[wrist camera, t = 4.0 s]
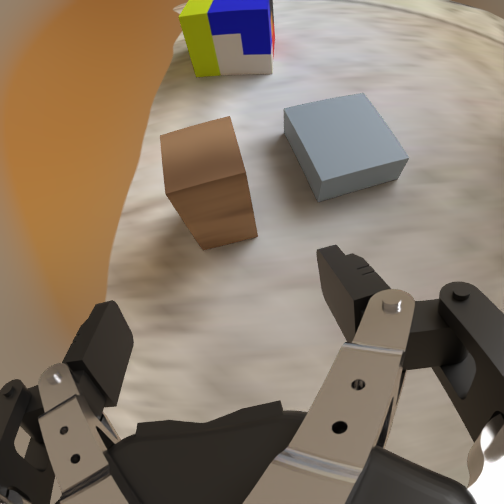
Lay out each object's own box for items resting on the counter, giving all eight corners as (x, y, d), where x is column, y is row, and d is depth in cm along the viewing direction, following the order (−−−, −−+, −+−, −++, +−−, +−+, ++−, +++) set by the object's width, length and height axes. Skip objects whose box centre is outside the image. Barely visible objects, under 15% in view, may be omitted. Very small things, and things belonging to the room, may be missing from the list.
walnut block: (194, 202, 29) (160, 135, 20) (245, 189, 29) (229, 116, 20) (203, 250, 28) (165, 194, 18) (258, 236, 28) (245, 172, 18)
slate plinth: (284, 134, 32) (283, 108, 28) (357, 117, 32) (363, 92, 28) (317, 204, 29) (321, 181, 25) (396, 180, 29) (409, 157, 25)
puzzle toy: (272, 74, 35) (267, 9, 26) (196, 77, 36) (178, 17, 27) (274, 37, 38) (271, -18, 29) (209, 40, 40) (197, -12, 30)
